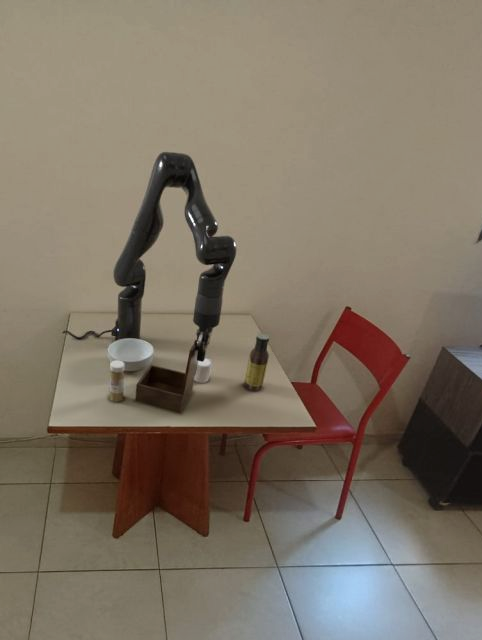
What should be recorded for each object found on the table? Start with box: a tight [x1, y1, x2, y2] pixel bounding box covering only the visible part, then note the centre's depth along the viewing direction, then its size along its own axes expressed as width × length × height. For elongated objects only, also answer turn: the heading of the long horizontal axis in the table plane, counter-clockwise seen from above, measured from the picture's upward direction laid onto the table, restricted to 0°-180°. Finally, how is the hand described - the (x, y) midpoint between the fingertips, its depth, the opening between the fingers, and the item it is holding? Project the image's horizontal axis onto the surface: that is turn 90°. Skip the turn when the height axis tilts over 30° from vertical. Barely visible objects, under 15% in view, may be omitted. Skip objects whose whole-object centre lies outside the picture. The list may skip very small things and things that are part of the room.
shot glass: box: [194, 356, 214, 384], centre depth 156 cm, size 7×7×7 cm
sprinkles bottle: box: [109, 361, 125, 403], centre depth 143 cm, size 5×5×13 cm
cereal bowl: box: [107, 338, 155, 372], centre depth 162 cm, size 17×17×7 cm
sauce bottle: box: [244, 333, 270, 392], centre depth 149 cm, size 6×6×20 cm
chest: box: [135, 364, 194, 414], centre depth 147 cm, size 15×13×7 cm
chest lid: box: [181, 343, 198, 395], centre depth 137 cm, size 16×13×1 cm
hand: (200, 360), depth 136 cm, fingers closed
